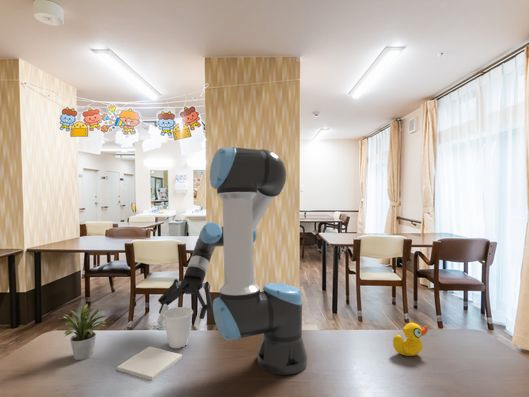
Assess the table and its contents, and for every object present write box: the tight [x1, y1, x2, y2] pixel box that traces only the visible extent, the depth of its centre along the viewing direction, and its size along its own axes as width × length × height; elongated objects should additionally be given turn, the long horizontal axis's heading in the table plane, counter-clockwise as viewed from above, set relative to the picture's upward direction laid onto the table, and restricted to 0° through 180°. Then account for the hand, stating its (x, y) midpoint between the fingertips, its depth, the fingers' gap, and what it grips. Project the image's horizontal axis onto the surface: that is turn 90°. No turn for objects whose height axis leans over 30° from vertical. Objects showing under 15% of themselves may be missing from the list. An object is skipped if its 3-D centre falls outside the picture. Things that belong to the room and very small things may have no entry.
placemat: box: [116, 346, 183, 381], centre depth 97 cm, size 13×13×1 cm
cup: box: [163, 306, 194, 349], centre depth 108 cm, size 10×10×11 cm
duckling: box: [392, 322, 429, 357], centre depth 102 cm, size 11×5×10 cm, turn 98°
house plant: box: [59, 303, 111, 361], centre depth 99 cm, size 14×14×16 cm
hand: (177, 325), depth 109 cm, fingers open, 13 cm apart
